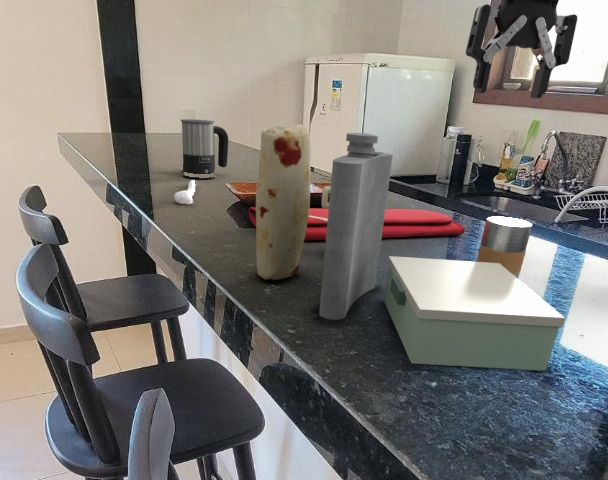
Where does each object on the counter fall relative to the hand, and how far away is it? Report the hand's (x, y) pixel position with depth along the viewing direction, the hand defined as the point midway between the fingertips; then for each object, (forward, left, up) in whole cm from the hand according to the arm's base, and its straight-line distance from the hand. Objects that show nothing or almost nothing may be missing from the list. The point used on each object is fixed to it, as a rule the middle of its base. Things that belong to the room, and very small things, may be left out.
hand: (508, 95), depth 77 cm
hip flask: (+23, +20, -26) cm, 40 cm away
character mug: (+21, 0, -26) cm, 33 cm away
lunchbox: (+11, +29, -25) cm, 40 cm away
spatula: (+55, -47, -26) cm, 77 cm away
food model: (+32, +12, -26) cm, 42 cm away
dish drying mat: (+17, -20, -26) cm, 37 cm away
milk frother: (+58, -77, -26) cm, 100 cm away
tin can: (+1, +13, -25) cm, 28 cm away
